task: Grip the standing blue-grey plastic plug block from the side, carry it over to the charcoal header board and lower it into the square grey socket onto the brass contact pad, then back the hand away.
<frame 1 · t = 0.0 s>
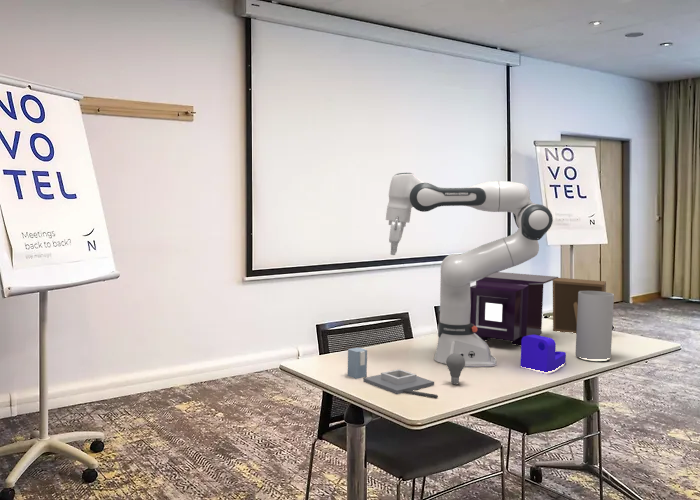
hand: (393, 253, 228), 39 cm above the table, tool pointing down, fingers open, 8 cm apart
header board: (398, 383, 198), on the table
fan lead: (420, 395, 187), on the table
plug block: (357, 376, 206), on the table
bracket: (548, 367, 222), on the table
light bulb: (454, 384, 199), on the table
dark purple stove: (503, 340, 264), on the table
cylinder vase: (592, 358, 236), on the table
photo frame: (576, 335, 277), on the table
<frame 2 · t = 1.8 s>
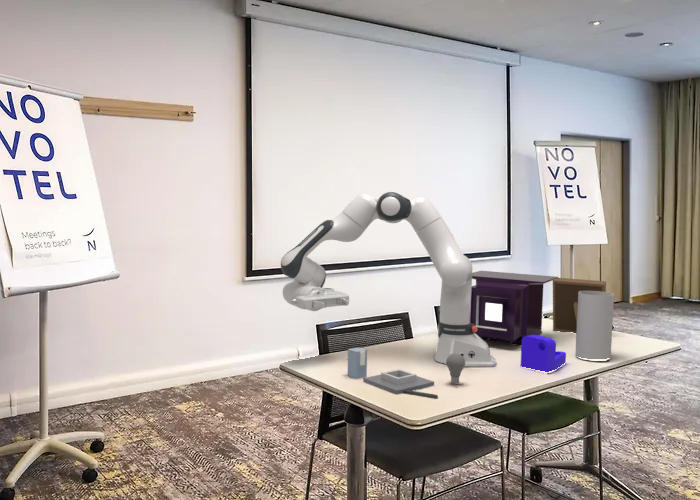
hand: (336, 304, 213), 22 cm above the table, tool horizontal, fingers open, 8 cm apart
nothing on the table moved.
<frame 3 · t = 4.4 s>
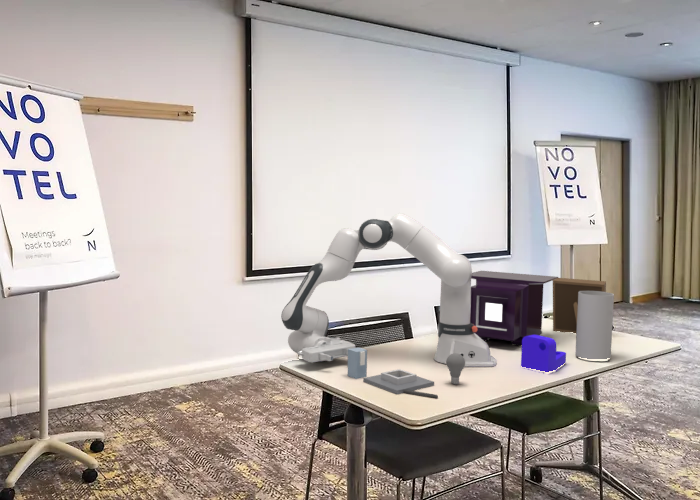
hand: (342, 356, 212), 5 cm above the table, tool horizontal, fingers open, 8 cm apart
nothing on the table moved.
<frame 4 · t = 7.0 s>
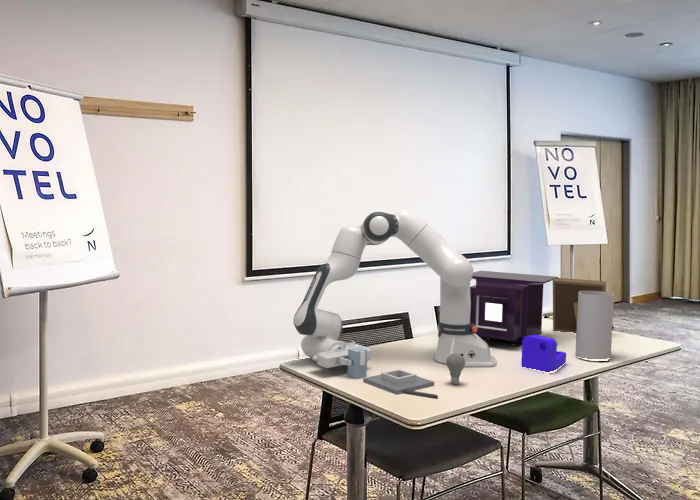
hand: (359, 361, 205), 5 cm above the table, tool horizontal, fingers closed on plug block, 4 cm apart
plug block: (357, 376, 206), on the table, touching gripper
everything else where it was.
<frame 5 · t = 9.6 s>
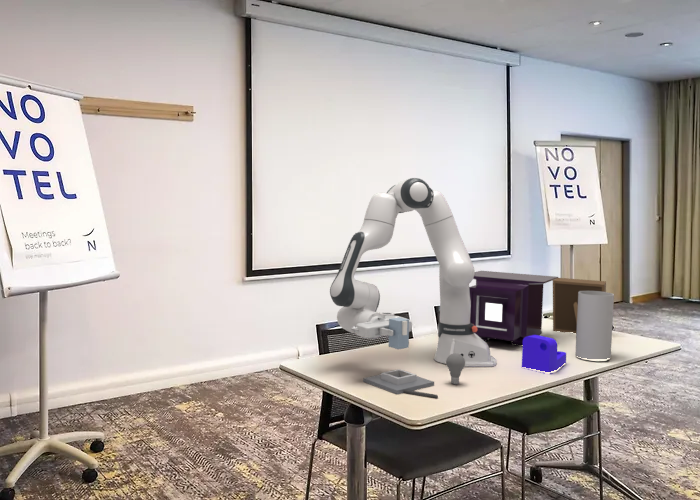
hand: (400, 332, 197), 17 cm above the table, tool horizontal, fingers closed on plug block, 4 cm apart
plug block: (398, 347, 198), point 12 cm above the table, touching gripper
everything else where it was.
when the fingers open (7 cm above the table, at t = 12.3 s): plug block stays where it is, resting on header board.
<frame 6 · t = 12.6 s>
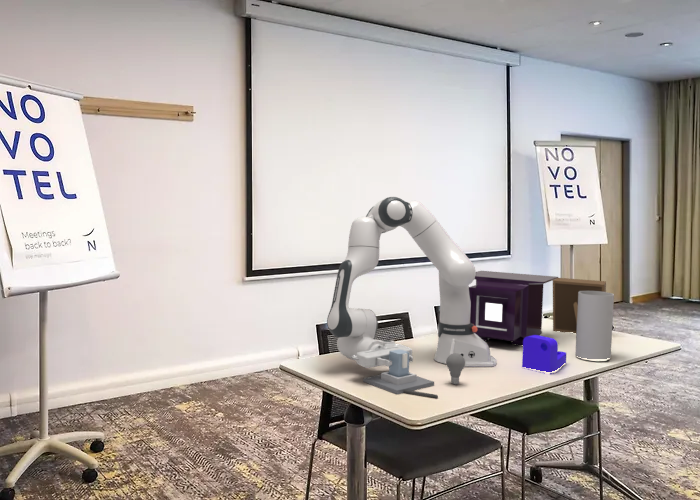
hand: (401, 361, 197), 7 cm above the table, tool horizontal, fingers open, 8 cm apart
plug block: (398, 379, 198), point 1 cm above the table, touching header board
everything else where it was.
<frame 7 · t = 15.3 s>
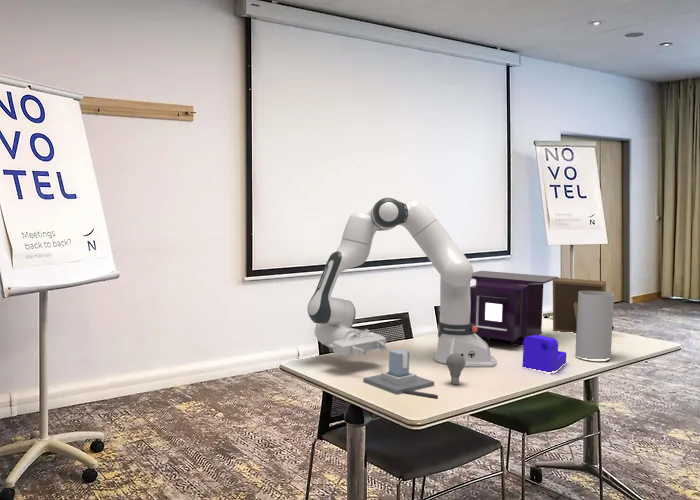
hand: (374, 350, 207), 8 cm above the table, tool horizontal, fingers open, 8 cm apart
nothing on the table moved.
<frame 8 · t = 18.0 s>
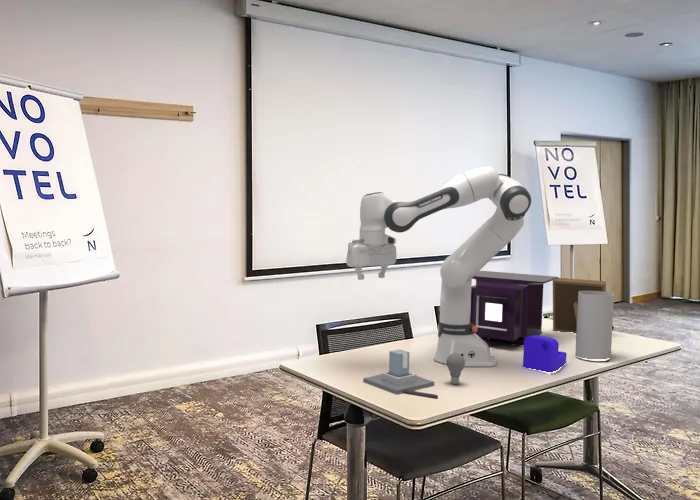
hand: (371, 278, 216), 31 cm above the table, tool pointing down, fingers open, 8 cm apart
nothing on the table moved.
at the end: plug block 0.0 cm off-centre on the header board, point 1.4 cm above the header board's base; plug block tilted 0°; the gripper is holding nothing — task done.
